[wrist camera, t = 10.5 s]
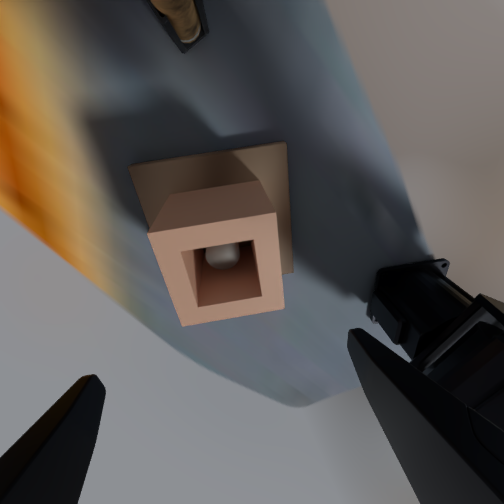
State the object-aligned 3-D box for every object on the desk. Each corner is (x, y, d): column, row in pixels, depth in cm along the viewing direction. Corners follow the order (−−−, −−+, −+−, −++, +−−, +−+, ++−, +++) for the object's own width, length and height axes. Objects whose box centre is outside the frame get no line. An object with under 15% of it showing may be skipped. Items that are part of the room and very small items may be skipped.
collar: (259, 180, 17) (275, 212, 12) (268, 256, 20) (284, 308, 15) (169, 194, 17) (146, 233, 12) (192, 269, 20) (182, 326, 15)
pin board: (283, 140, 17) (304, 152, 13) (290, 266, 22) (307, 305, 18) (132, 163, 17) (101, 184, 12) (174, 285, 22) (163, 330, 17)
